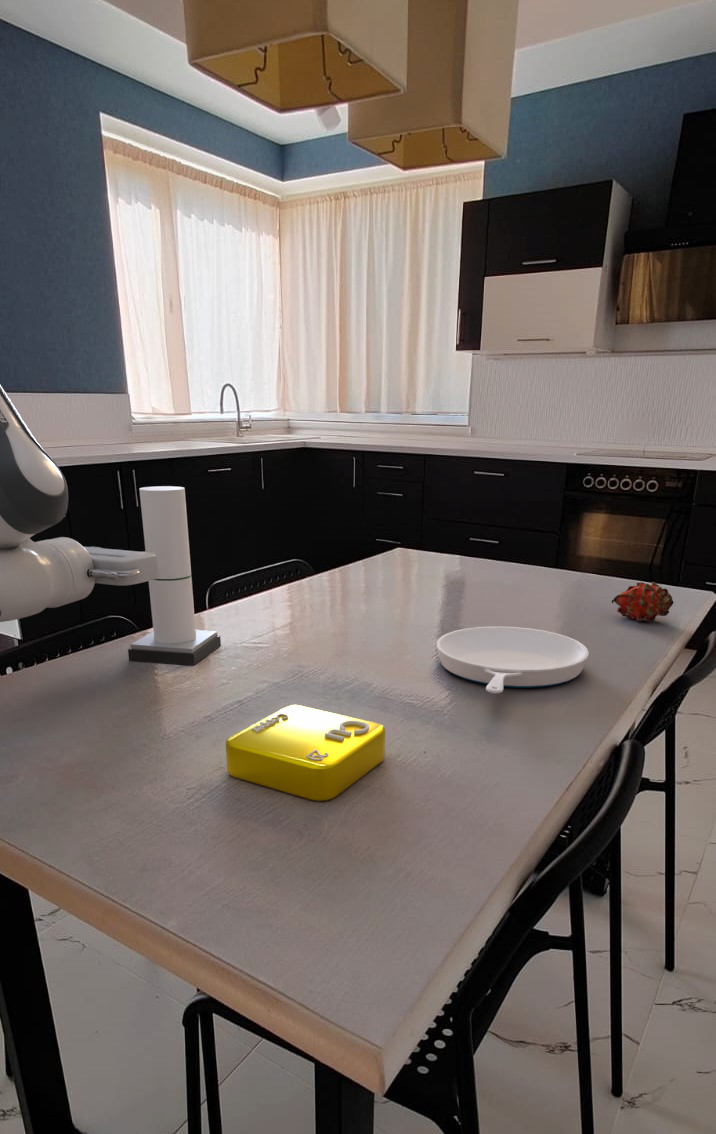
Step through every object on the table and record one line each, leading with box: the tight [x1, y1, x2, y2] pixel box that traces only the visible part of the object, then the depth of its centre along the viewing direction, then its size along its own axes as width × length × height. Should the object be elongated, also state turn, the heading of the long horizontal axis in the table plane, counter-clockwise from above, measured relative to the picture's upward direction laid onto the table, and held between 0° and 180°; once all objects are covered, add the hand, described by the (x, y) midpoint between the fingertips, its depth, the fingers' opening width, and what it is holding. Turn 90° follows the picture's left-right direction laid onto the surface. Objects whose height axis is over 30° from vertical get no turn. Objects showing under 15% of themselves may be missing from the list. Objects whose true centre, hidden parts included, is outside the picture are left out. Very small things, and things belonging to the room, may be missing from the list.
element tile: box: [224, 704, 386, 802], centre depth 93 cm, size 15×15×5 cm
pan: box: [435, 625, 590, 694], centre depth 123 cm, size 25×38×5 cm, turn 164°
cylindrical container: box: [138, 485, 197, 643], centre depth 130 cm, size 7×7×25 cm
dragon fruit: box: [611, 581, 675, 623], centre depth 158 cm, size 8×8×12 cm
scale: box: [127, 629, 222, 666], centre depth 135 cm, size 12×12×3 cm
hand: (123, 554), depth 118 cm, fingers open, 8 cm apart
